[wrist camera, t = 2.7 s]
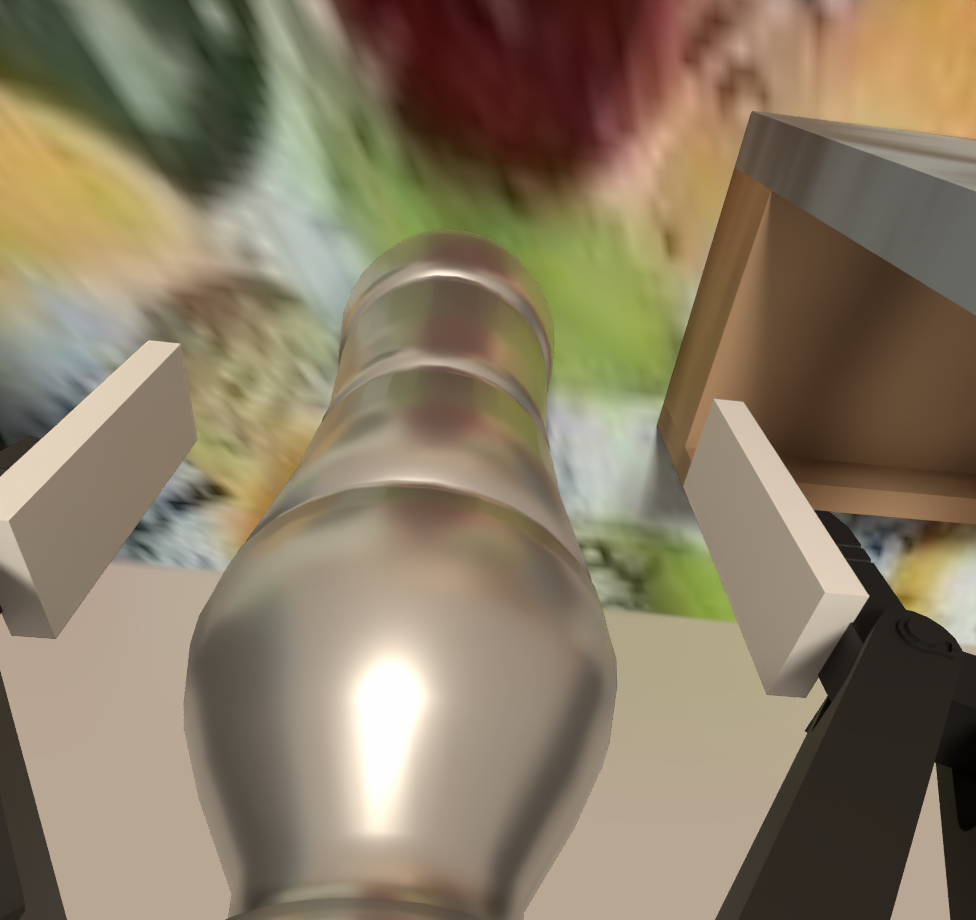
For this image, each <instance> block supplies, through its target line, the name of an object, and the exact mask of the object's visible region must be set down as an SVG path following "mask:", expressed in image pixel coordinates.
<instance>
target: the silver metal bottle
mask: <svg viewBox="0 0 976 920" xmlns="http://www.w3.org/2000/svg"><path fill="white" fill-rule="evenodd" d="M554 343H555V341H554V328H553V320H552V316H551V313H550V310H549V306H548V303H547V300H546V298H545V297H544V295H543V293H542V291H541V289H540V287H539V285H538V283H537V282H536V280H535V279H534V278H533V277H532V275H531V274H530V273H529V271H528V270H527V269H526V268H525V267H524V265H523V264H522V263H521V262H520V260H519V259H518V258H517V257H516V256H515V255H514V254H512V253H511V252H510V251H509V250H507V249H506V248H505V247H504V246H502V245H501V244H499V243H497V242H495V241H493V240H491V239H489V238H488V237H486V236H484V235H480V234H477V233H473V232H469V231H466V230H456V229H439V230H433V231H426V232H422V233H419V234H417V235H414V236H412V237H409V238H406V239H404V240H403V241H401V242H400V243H398V244H397V245H395V246H394V247H392V248H391V249H389V250H388V251H386V252H385V253H384V254H382V255H381V256H380V257H378V258H377V259H376V260H375V261H374V262H373V263H372V264H371V265H370V266H369V267H368V268H367V269H366V270H365V271H364V272H363V273H362V275H361V276H360V278H359V280H358V281H357V283H356V284H355V286H354V288H353V289H352V291H351V293H350V296H349V299H348V301H347V304H346V307H345V310H344V315H343V321H342V328H341V335H340V342H339V349H338V357H339V368H338V372H337V376H336V381H335V385H334V389H333V393H332V398H331V402H330V405H329V407H328V409H327V411H326V413H325V415H324V417H323V420H322V423H321V425H320V426H319V428H318V429H317V431H316V433H315V435H314V437H313V439H312V441H311V443H310V445H309V447H308V449H307V450H306V452H305V454H304V456H303V458H302V460H301V462H300V464H299V466H298V468H297V470H296V471H295V473H294V474H293V475H292V477H291V478H290V480H289V481H288V482H287V484H286V485H285V487H284V488H283V490H282V491H281V492H280V494H279V495H278V497H277V498H276V499H275V501H274V502H273V504H272V505H271V507H270V508H269V509H268V511H267V512H266V514H265V515H264V516H263V518H262V519H261V521H260V522H259V523H258V525H257V526H256V528H255V529H254V531H253V532H252V533H251V535H250V536H249V538H248V539H247V541H246V542H245V544H244V545H242V547H241V548H240V550H239V551H238V553H237V554H236V555H235V557H234V558H233V560H232V561H231V563H230V564H229V566H228V567H227V569H226V570H225V571H224V573H223V575H222V577H221V579H220V580H219V582H218V584H217V586H216V588H215V590H214V592H213V593H212V595H211V597H210V598H209V600H208V602H207V603H206V605H205V607H204V608H203V610H202V612H201V613H200V615H199V618H198V621H197V624H196V627H195V630H194V634H193V637H192V640H191V643H190V650H189V659H188V669H187V678H186V687H185V697H184V731H185V735H186V740H187V744H188V750H189V754H190V759H191V764H192V768H193V773H194V778H195V783H196V788H197V792H198V797H199V801H200V803H201V806H202V809H203V812H204V815H205V818H206V821H207V824H208V827H209V830H210V833H211V835H212V838H213V841H214V844H215V847H216V850H217V853H218V856H219V859H220V862H221V864H222V868H223V870H224V873H225V876H226V879H227V882H228V885H229V888H230V891H231V894H232V895H231V902H230V908H229V916H228V919H226V920H523V918H524V912H525V910H526V908H527V907H528V905H529V903H530V902H531V900H532V899H533V897H534V895H535V893H536V892H537V890H538V888H539V887H540V885H541V883H542V882H543V880H544V878H545V877H546V875H547V873H548V872H549V870H550V868H551V867H552V865H553V863H554V861H555V860H556V858H557V857H558V855H559V853H560V852H561V850H562V848H563V846H564V845H565V843H566V842H567V840H568V838H569V837H570V835H571V833H572V832H573V830H574V827H575V826H576V824H577V821H578V819H579V817H580V814H581V813H582V810H583V808H584V806H585V804H586V801H587V799H588V797H589V795H590V792H591V790H592V788H593V786H594V784H595V782H596V780H597V777H598V775H599V773H600V771H601V769H602V766H603V763H604V759H605V756H606V753H607V749H608V746H609V742H610V735H611V727H612V720H613V712H614V705H615V697H616V690H617V672H616V671H617V670H616V657H615V653H614V650H613V646H612V643H611V640H610V636H609V632H608V628H607V624H606V620H605V616H604V613H603V610H602V607H601V604H600V601H599V598H598V595H597V592H596V588H595V586H594V584H593V583H592V580H591V577H590V574H589V571H588V568H587V566H586V563H585V560H584V558H583V555H582V553H581V550H580V547H579V545H578V542H577V539H576V537H575V534H574V531H573V529H572V526H571V523H570V521H569V518H568V516H567V513H566V510H565V508H564V505H563V502H562V500H561V497H560V492H559V488H558V483H557V479H556V474H555V470H554V465H553V461H552V458H551V455H550V448H549V443H548V438H547V434H546V401H547V391H548V387H549V384H550V379H551V371H552V364H553V354H554Z"/></svg>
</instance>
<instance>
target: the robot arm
mask: <svg viewBox="0 0 976 920" xmlns="http://www.w3.org/2000/svg"><path fill="white" fill-rule="evenodd" d="M196 441H197V435H196V429H195V423H194V418H193V412H192V406H191V400H190V394H189V388H188V383H187V377H186V371H185V365H184V359H183V353H182V348H181V344H178V343H168V342H159V341H149V340H148V341H147V342H146V343H145V344H144V345H143V346H142V347H141V348H140V349H138V350H137V351H136V352H135V353H134V354H133V355H132V356H131V357H130V358H129V359H128V360H126V361H125V362H124V363H123V364H122V365H121V366H120V367H119V368H118V369H117V370H116V371H115V372H113V373H112V374H111V375H110V376H109V377H108V378H107V379H106V380H105V381H104V382H103V383H102V384H100V385H99V386H98V387H97V388H96V389H95V390H94V391H93V392H92V393H91V394H90V395H89V396H87V397H86V398H85V399H84V400H83V401H82V402H81V403H80V404H79V405H78V406H77V407H75V408H74V409H73V410H72V411H71V412H70V413H69V414H68V415H67V416H66V417H65V418H64V419H62V420H61V421H60V422H59V423H58V424H57V425H56V426H55V427H54V428H53V429H52V430H51V431H49V432H48V433H47V434H46V435H45V436H44V437H43V438H31V437H28V438H26V439H24V440H22V441H20V442H18V443H16V444H14V445H12V446H10V447H7V448H5V447H4V445H3V443H2V441H1V440H0V614H1V613H2V615H3V617H4V620H5V622H6V624H7V626H8V628H9V631H10V633H11V635H12V636H25V637H37V638H50V639H56V638H57V636H58V635H59V634H60V632H61V631H62V630H63V628H64V627H65V625H66V624H67V622H68V621H69V620H70V618H71V617H72V615H73V614H74V613H75V611H76V610H77V608H78V607H79V606H80V604H81V603H82V601H83V600H84V599H85V597H86V596H87V594H88V593H89V592H90V590H91V589H92V587H93V586H94V585H95V583H96V582H97V580H98V579H99V578H100V576H101V575H102V573H103V572H104V570H105V569H106V568H107V566H108V565H109V563H110V562H111V561H112V559H113V558H114V556H115V555H116V554H117V552H118V551H119V549H120V548H121V547H122V545H123V544H124V542H125V541H126V540H127V538H128V537H129V535H130V534H131V533H132V531H133V530H134V528H135V527H136V525H137V524H138V523H139V521H140V520H141V518H142V517H143V516H144V514H145V513H146V511H147V510H148V509H149V507H150V506H151V504H152V503H153V502H154V500H155V499H156V497H157V496H158V495H159V493H160V492H161V490H162V489H163V488H164V486H165V485H166V483H167V482H168V481H169V479H170V478H171V476H172V475H173V473H174V472H175V471H176V469H177V468H178V466H179V465H180V464H181V462H182V461H183V459H184V458H185V457H186V455H187V454H188V452H189V451H190V450H191V448H192V447H193V445H194V444H195V443H196ZM683 487H684V490H685V492H686V495H687V497H688V500H689V502H690V505H691V507H692V510H693V512H694V515H695V517H696V520H697V522H698V525H699V527H700V530H701V532H702V535H703V537H704V540H705V542H706V545H707V547H708V550H709V552H710V555H711V557H712V560H713V562H714V565H715V567H716V570H717V572H718V575H719V577H720V580H721V582H722V585H723V587H724V590H725V592H726V595H727V597H728V600H729V602H730V605H731V607H732V609H733V612H734V614H735V617H736V619H737V622H738V624H739V627H740V629H741V632H742V634H743V637H744V639H745V641H746V644H747V647H748V649H749V652H750V654H751V657H752V659H753V662H754V664H755V666H756V669H757V672H758V674H759V677H760V679H761V682H762V684H763V686H764V689H765V692H766V694H767V695H775V696H788V697H802V698H806V697H807V695H808V694H809V692H810V690H811V689H812V687H813V686H814V684H815V682H816V681H817V679H818V678H819V679H820V681H821V683H822V685H823V687H824V689H825V691H826V693H827V694H828V696H827V698H826V699H825V701H824V702H823V704H822V705H821V707H820V709H819V710H818V711H817V713H816V714H815V716H814V718H813V719H812V721H811V722H810V724H809V725H808V727H807V728H806V730H805V731H806V732H807V735H806V737H805V739H804V741H803V743H802V745H801V747H800V749H799V751H798V753H797V755H796V758H795V760H794V762H793V764H792V766H791V768H790V770H789V772H788V774H787V776H786V778H785V780H784V782H783V784H782V786H781V788H780V790H779V792H778V794H777V796H776V798H775V800H774V802H773V804H772V806H771V808H770V810H769V812H768V814H767V816H766V818H765V820H764V822H763V824H762V826H761V828H760V830H759V832H758V834H757V836H756V838H755V840H754V842H753V844H752V846H751V848H750V850H749V852H748V854H747V857H746V858H745V860H744V863H743V864H742V866H741V869H740V870H739V873H738V875H737V877H736V879H735V881H734V883H733V885H732V887H731V889H730V891H729V893H728V895H727V897H726V899H725V901H724V903H723V905H722V907H721V909H720V911H719V913H718V915H717V917H716V919H715V920H890V918H891V915H892V911H893V908H894V904H895V901H896V897H897V894H898V890H899V886H900V883H901V879H902V876H903V872H904V868H905V865H906V862H907V858H908V854H909V851H910V847H911V844H912V840H913V837H914V833H915V830H916V826H917V822H918V819H919V815H920V812H921V808H922V805H923V801H924V797H925V794H926V790H927V787H928V783H929V780H930V776H931V772H932V769H933V765H934V762H935V763H936V769H937V780H938V791H939V802H940V812H941V823H942V834H943V844H944V855H945V866H946V877H947V887H948V898H949V909H950V919H951V920H976V656H975V655H972V654H969V653H966V652H963V651H962V649H961V647H960V646H959V644H958V643H957V641H956V639H955V638H954V637H953V636H952V635H951V634H950V633H949V632H948V631H947V630H946V629H945V628H944V627H942V626H941V625H939V624H938V623H936V622H934V621H933V620H931V619H930V618H928V617H926V616H923V615H921V614H918V613H916V612H913V611H909V610H906V609H905V608H904V606H903V605H902V603H901V602H900V601H899V599H898V598H897V596H896V595H895V593H894V592H893V590H892V589H891V588H890V586H889V585H888V583H887V582H886V580H885V579H884V578H883V576H882V575H881V573H880V572H879V570H878V569H877V567H876V566H875V565H874V563H871V559H870V557H869V556H868V554H867V553H866V552H865V550H864V549H862V548H861V544H860V543H859V542H858V540H857V539H856V537H855V536H854V534H853V533H852V531H851V530H850V529H849V527H847V526H846V525H845V524H844V523H843V522H841V521H840V520H839V519H838V518H836V517H835V516H834V515H833V514H832V513H830V512H829V511H821V510H813V509H812V507H811V505H810V504H809V502H808V501H807V499H806V498H805V496H804V495H803V493H802V492H801V490H800V488H799V487H798V485H797V484H796V482H795V481H794V479H793V478H792V476H791V475H790V473H789V471H788V470H787V468H786V467H785V465H784V464H783V462H782V461H781V459H780V458H779V456H778V454H777V453H776V451H775V450H774V448H773V447H772V445H771V444H770V442H769V441H768V439H767V438H766V436H765V434H764V433H763V431H762V430H761V428H760V427H759V425H758V424H757V422H756V421H755V419H754V417H753V416H752V414H751V413H750V411H749V410H748V408H747V407H746V405H745V404H744V402H741V401H731V400H721V399H713V402H712V405H711V408H710V411H709V414H708V416H707V419H706V422H705V425H704V428H703V431H702V434H701V436H700V439H699V442H698V445H697V448H696V451H695V454H694V457H693V459H692V462H691V465H690V468H689V471H688V474H687V477H686V480H685V482H684V485H683ZM0 920H67V918H66V915H65V911H64V907H63V904H62V900H61V896H60V893H59V889H58V885H57V882H56V877H55V874H54V870H53V866H52V863H51V860H50V855H49V851H48V847H47V844H46V840H45V837H44V833H43V829H42V825H41V821H40V818H39V814H38V810H37V806H36V803H35V799H34V795H33V792H32V788H31V784H30V780H29V777H28V773H27V769H26V765H25V762H24V758H23V754H22V750H21V747H20V743H19V739H18V735H17V732H16V728H15V724H14V721H13V717H12V713H11V709H10V706H9V702H8V698H7V695H6V691H5V687H4V683H3V679H2V676H1V672H0Z"/></svg>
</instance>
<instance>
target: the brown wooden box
mask: <svg viewBox="0 0 976 920" xmlns="http://www.w3.org/2000/svg"><path fill="white" fill-rule="evenodd" d="M713 399H721V400H731V401H741V402H744V404H745V405H746V407H747V408H748V410H749V411H750V413H751V414H752V416H753V417H754V419H755V421H756V422H757V424H758V425H759V427H760V428H761V430H762V431H763V433H764V434H765V436H766V438H767V439H768V441H769V442H770V444H771V445H772V447H773V448H774V450H775V451H776V453H777V454H778V456H779V458H780V459H781V461H782V462H783V464H784V465H785V467H786V468H787V470H788V471H789V473H790V475H791V476H792V478H793V479H794V481H795V482H796V484H797V485H798V487H799V488H800V490H801V492H802V493H803V495H804V496H805V498H806V499H807V501H808V502H809V504H810V505H811V507H812V509H813V510H821V511H829V512H839V513H851V514H862V515H874V516H885V517H896V518H908V519H919V520H930V521H942V522H953V523H964V524H976V140H975V139H968V138H960V137H952V136H944V135H936V134H928V133H920V132H912V131H904V130H897V129H889V128H881V127H873V126H865V125H857V124H849V123H841V122H833V121H826V120H818V119H810V118H802V117H794V116H786V115H778V114H770V113H762V112H755V111H752V113H751V116H750V120H749V123H748V126H747V130H746V133H745V136H744V139H743V143H742V146H741V149H740V153H739V156H738V159H737V163H736V166H735V169H734V173H733V176H732V179H731V183H730V186H729V189H728V193H727V196H726V199H725V202H724V206H723V209H722V212H721V216H720V219H719V222H718V226H717V229H716V232H715V236H714V239H713V242H712V246H711V249H710V252H709V256H708V259H707V262H706V265H705V269H704V272H703V275H702V279H701V282H700V285H699V289H698V292H697V295H696V299H695V302H694V305H693V309H692V312H691V315H690V319H689V322H688V325H687V328H686V332H685V335H684V338H683V342H682V345H681V348H680V352H679V355H678V358H677V362H676V365H675V368H674V372H673V375H672V378H671V381H670V385H669V388H668V391H667V395H666V398H665V401H664V405H663V408H662V411H661V415H660V418H659V421H658V425H657V426H658V428H659V431H660V433H661V435H662V438H663V440H664V443H665V445H666V448H667V450H668V452H669V455H670V457H671V460H672V462H673V464H674V467H675V469H676V472H677V474H678V477H679V479H680V481H681V484H682V486H683V485H684V482H685V480H686V477H687V474H688V471H689V468H690V465H691V462H692V459H693V457H694V454H695V451H696V448H697V445H698V442H699V439H700V436H701V434H702V431H703V428H704V425H705V422H706V419H707V416H708V414H709V411H710V408H711V405H712V402H713ZM683 489H684V487H683ZM684 491H685V490H684ZM685 493H686V492H685ZM686 496H687V495H686ZM687 498H688V497H687Z"/></svg>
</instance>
